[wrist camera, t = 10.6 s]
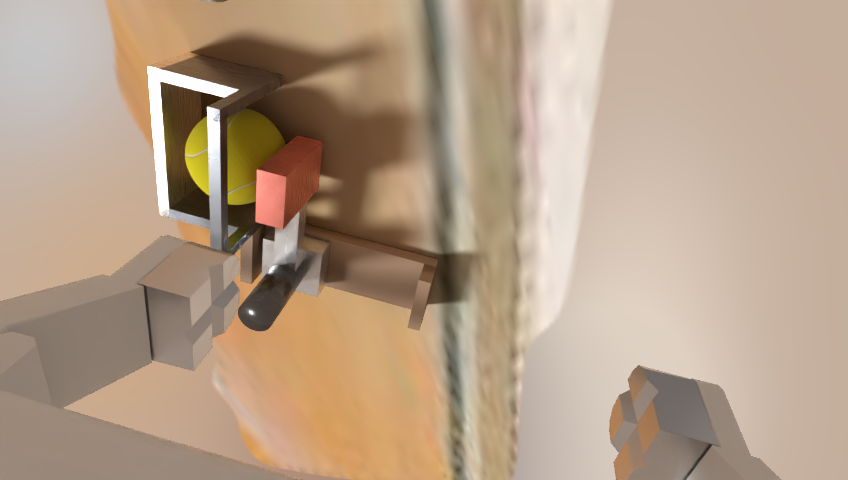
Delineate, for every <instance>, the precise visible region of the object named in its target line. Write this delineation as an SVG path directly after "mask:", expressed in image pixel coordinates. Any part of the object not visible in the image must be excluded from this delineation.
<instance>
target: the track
mask: <svg viewBox="0 0 848 480" xmlns="http://www.w3.org/2000/svg"><path fill="white" fill-rule="evenodd" d="M272 228H273V227H272V226H269V225H265V224H262V225H261V226H260V227H259V228H258V229H257V230H256V232H255V233H254V234H253V235H252V236H251V237H250V238H249V239H248V240H247V241H246V242H245V243H244V244H243V245H242V246H241V271H240V281H242V282H246V283H249V284H252V283H253V282H254V280H255V279H256V278H257V277H258V276H259V274H260V273H261V272H262V255H263V238H264V237H265V236H266V235H267V234H268V233H269V232H270V230H271V229H272ZM304 235H305V236H309V237H313V238H317V239H320V240H324V241H328V242H330V250H329V259H328V267H327V276H326V284H325V286H328V287H332V288H335V289H339V290H343V291H346V292H350V293H353V294H357V295H361V296H364V297H368V298H372V299H375V300H379V301H382V302H386V303H390V304H393V305H397V306H401V307H404V308H408V309H412V311H411V315H410V320H409V324H408V328H411V329H415V330H420V326H421V323H422V320H423V316H424V313H425V310H426V307H427V303H428V299H429V295H430V291H431V287H432V283H433V279H434V275H435V271H436V267H437V263H438V259H435V258H432V257H428V256H424V255H420V254H417V253H413V252H409V251H406V250H402V249H398V248H394V247H391V246H387V245H383V244H380V243H376V242H372V241H368V240H365V239H361V238H357V237H353V236H350V235H346V234H342V233H339V232H335V231H331V230H327V229H324V228H320V227H316V226H313V225H309V224H305V233H304Z"/></svg>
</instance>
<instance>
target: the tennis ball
mask: <svg viewBox="0 0 848 480" xmlns="http://www.w3.org/2000/svg"><path fill="white" fill-rule="evenodd" d="M285 145H286V144H285V142H284V139H283V137H282V135H281V134H280V132H279V130H278V129H277V128H276V127H275V125H274V124H273V123H272V122H271V121H270V120H269V119H267V118H266V117H265V116H264V115H262V114H260V113H259V112H256V111H254V110H251V109H248V108H244V109H242V110H240V111H239V112H237V113H235V114H233V115H232V116H230V117H228V118H227V151H228V204H231V205H242V204H248V203H252V202H255V201H256V182H257V169H258V168H259V167H260V166H261V165H263V164H264V163H265V162H266V161H267V160H269V159H270V158H271V157H272V156H273V155H275V154H276V153H277V152H278V151H279V150H281V149H282V148H283V147H284V146H285ZM185 161H186V165H187V168H188V170H189V173H190V175H191V177H192V178H193V180H194V181H195V183H196V184H197V185H198V186H199V188H200V189H201V190H203V191H204V192H205V193H206V194H207V195H209V164H208V125H207V116H206V117H204V118H203V119H202V120H201V121H200V122H199V123H198V124H197V125H196V126H195V127H194V128H193V130H192V131H191V133H190V135H189V137H188V140H187V142H186V146H185Z"/></svg>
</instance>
